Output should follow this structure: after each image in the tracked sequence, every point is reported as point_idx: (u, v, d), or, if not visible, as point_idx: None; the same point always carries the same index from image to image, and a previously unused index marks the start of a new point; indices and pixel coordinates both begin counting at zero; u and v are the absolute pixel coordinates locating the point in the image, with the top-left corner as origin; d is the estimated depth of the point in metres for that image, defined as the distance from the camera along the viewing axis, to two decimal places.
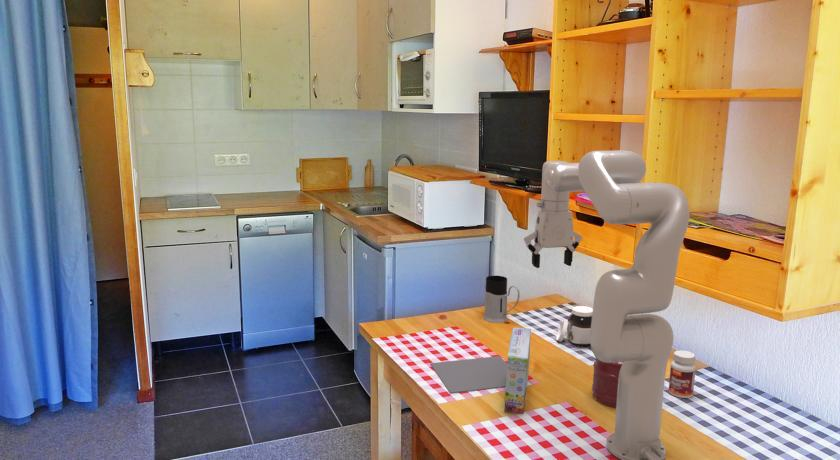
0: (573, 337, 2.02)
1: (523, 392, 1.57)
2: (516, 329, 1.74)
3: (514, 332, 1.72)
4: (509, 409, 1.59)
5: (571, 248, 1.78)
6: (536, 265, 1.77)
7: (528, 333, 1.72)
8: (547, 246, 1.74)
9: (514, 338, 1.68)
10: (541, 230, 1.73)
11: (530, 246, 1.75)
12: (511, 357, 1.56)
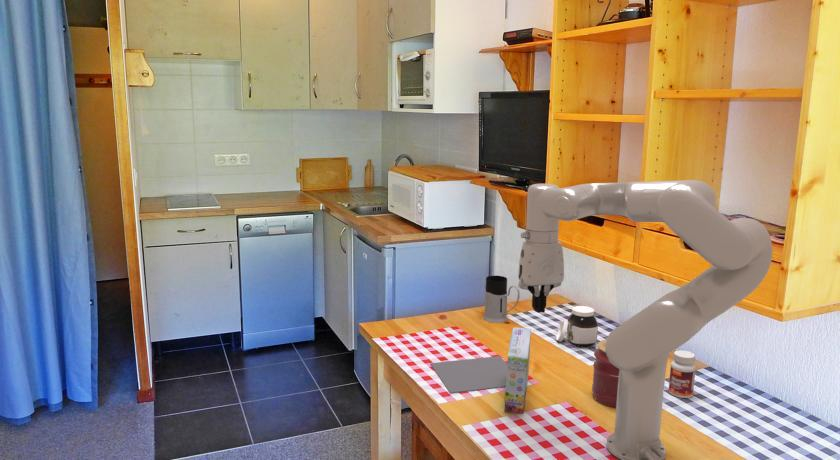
0: (573, 337, 2.02)
1: (523, 392, 1.57)
2: (516, 329, 1.74)
3: (514, 332, 1.72)
4: (509, 409, 1.59)
5: (544, 292, 1.51)
6: (537, 309, 1.52)
7: (528, 333, 1.72)
8: (533, 284, 1.48)
9: (514, 338, 1.68)
10: (526, 265, 1.48)
11: (530, 287, 1.50)
12: (511, 357, 1.56)
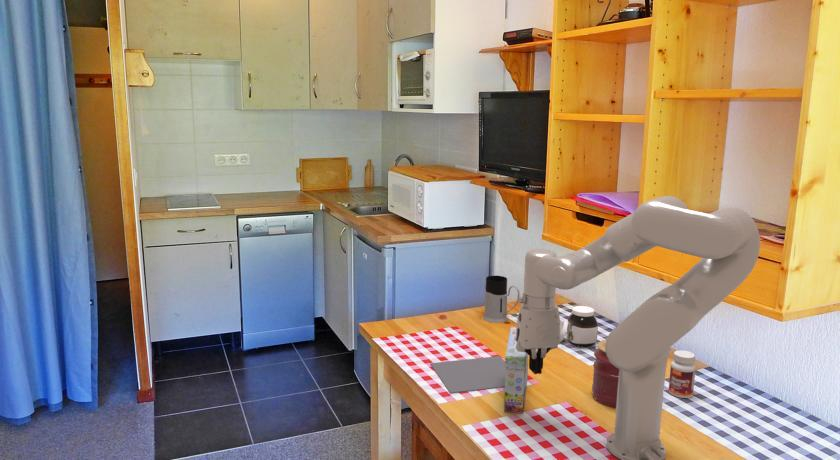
0: (573, 337, 2.02)
1: (522, 391, 1.57)
2: (514, 329, 1.74)
3: (512, 331, 1.72)
4: (509, 409, 1.59)
5: (541, 354, 1.54)
6: (534, 371, 1.55)
7: None
8: (530, 348, 1.52)
9: (512, 338, 1.68)
10: (523, 330, 1.51)
11: (527, 350, 1.54)
12: (509, 357, 1.56)
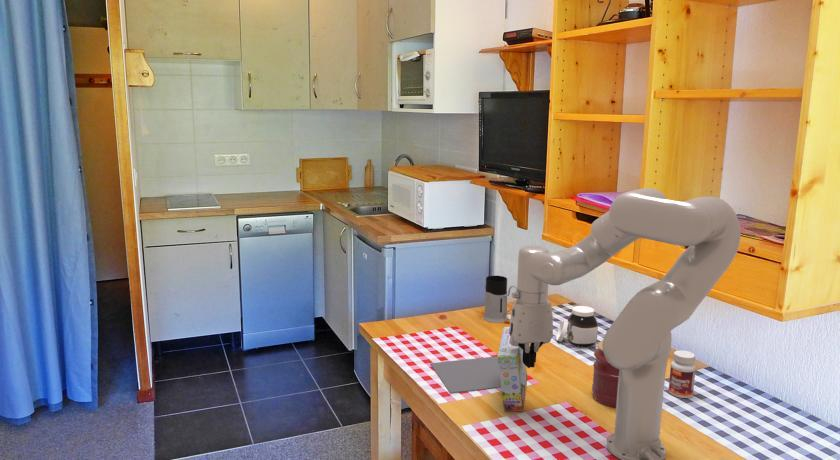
0: (573, 337, 2.02)
1: (519, 389, 1.57)
2: (507, 328, 1.75)
3: (505, 331, 1.73)
4: (508, 408, 1.59)
5: (534, 348, 1.58)
6: (527, 364, 1.59)
7: None
8: (523, 342, 1.55)
9: (504, 337, 1.68)
10: (516, 324, 1.54)
11: (521, 344, 1.57)
12: (501, 356, 1.56)
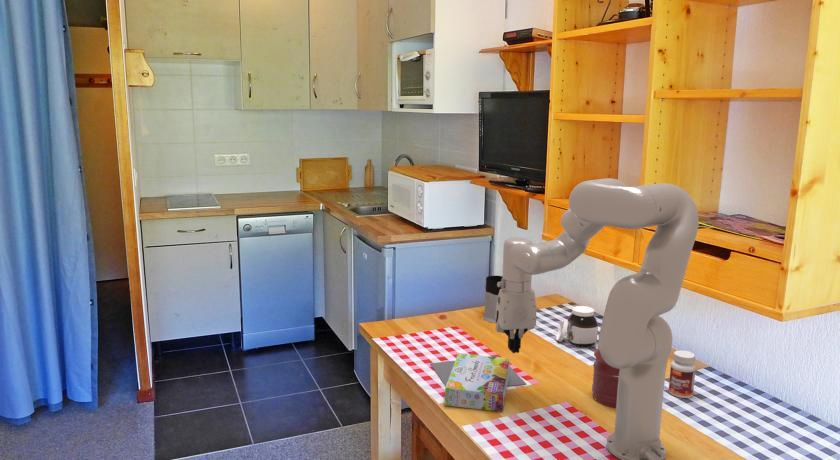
0: (573, 337, 2.02)
1: (480, 393, 1.60)
2: None
3: None
4: (500, 407, 1.59)
5: (519, 334, 1.67)
6: (512, 350, 1.68)
7: None
8: (508, 328, 1.65)
9: None
10: (502, 312, 1.64)
11: (506, 331, 1.67)
12: (445, 401, 1.62)
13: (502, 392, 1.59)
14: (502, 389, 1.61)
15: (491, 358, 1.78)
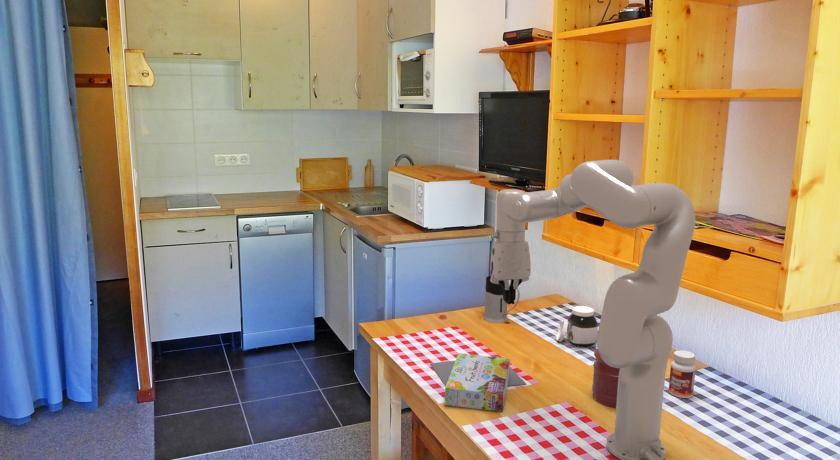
0: (573, 337, 2.02)
1: (480, 393, 1.60)
2: None
3: None
4: (500, 407, 1.59)
5: (514, 285, 1.70)
6: (507, 301, 1.71)
7: None
8: (503, 278, 1.67)
9: None
10: (496, 262, 1.66)
11: (501, 282, 1.69)
12: (445, 401, 1.62)
13: (502, 392, 1.59)
14: (502, 389, 1.61)
15: (491, 358, 1.78)
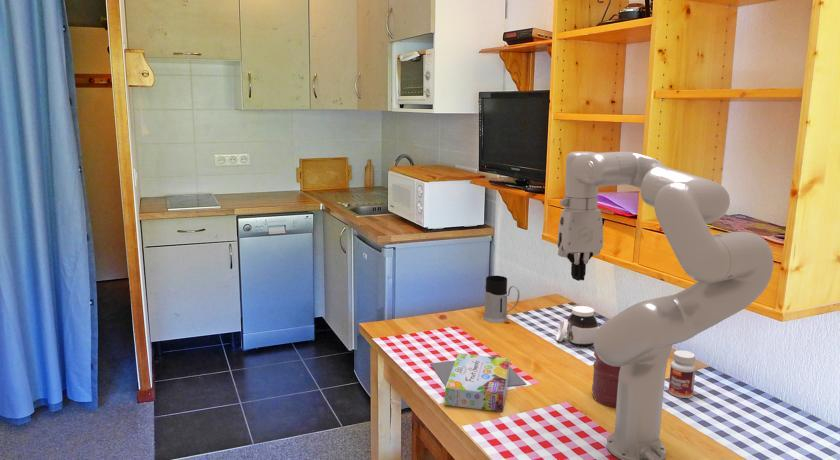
0: (573, 337, 2.02)
1: (480, 393, 1.60)
2: None
3: None
4: (500, 407, 1.59)
5: (584, 259, 1.52)
6: (577, 277, 1.52)
7: None
8: (573, 251, 1.49)
9: None
10: (566, 232, 1.48)
11: (570, 255, 1.51)
12: (445, 401, 1.62)
13: (502, 392, 1.59)
14: (502, 389, 1.61)
15: (491, 358, 1.78)
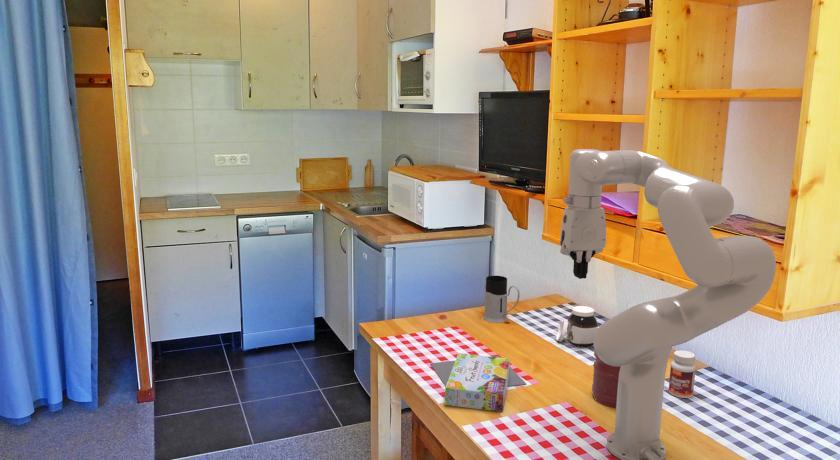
0: (573, 337, 2.02)
1: (480, 393, 1.60)
2: None
3: None
4: (500, 407, 1.59)
5: (586, 258, 1.51)
6: (579, 275, 1.52)
7: None
8: (576, 249, 1.48)
9: None
10: (569, 230, 1.47)
11: (572, 253, 1.50)
12: (445, 401, 1.62)
13: (502, 392, 1.59)
14: (502, 389, 1.61)
15: (491, 358, 1.78)
